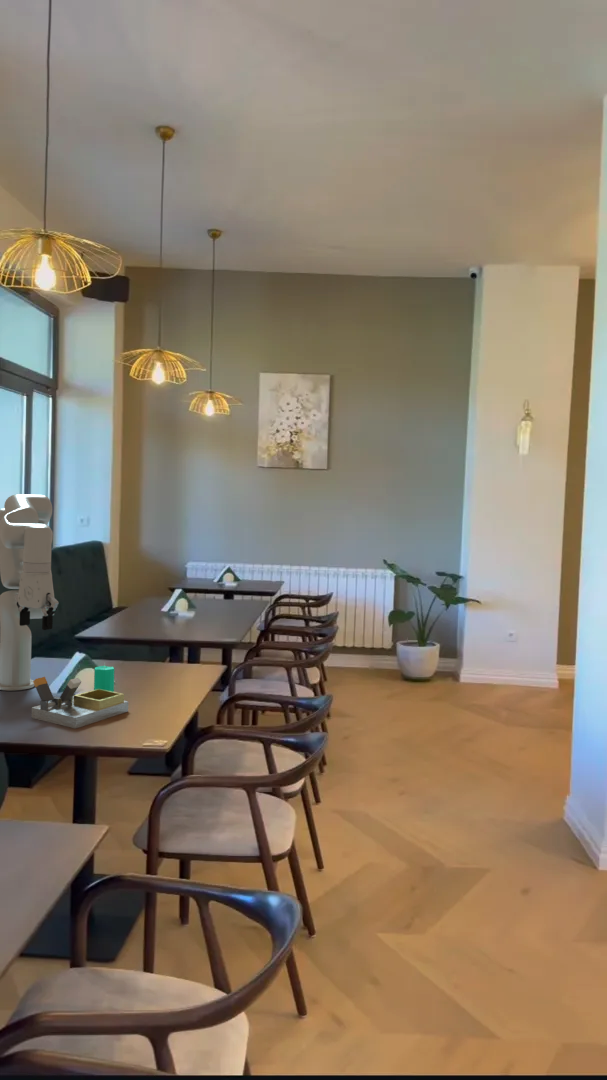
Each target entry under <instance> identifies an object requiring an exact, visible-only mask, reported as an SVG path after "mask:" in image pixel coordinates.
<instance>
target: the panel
mask: <svg viewBox="0 0 607 1080" xmlns="http://www.w3.org/2000/svg"><path fill="white" fill-rule="evenodd" d="M53 697H54V700H53V701H52V702H55V703H56V705H55V706H53V707H49V708H48V702H47V701H43V700H42V701H41V700H40V702H39V703H40V704H38V705H36V706H32V707H31V718H32V719H34V720H35V719H36V720H39V721H43V722H46V723H51V724H56V725H59V726H64V727H67V728H71V729H74V730H75V729H78V728H82V727H84V726H87V725H90V724H91V725H92V724H93V723H94V724H95V723H96V722H97V723H98V722H100V721H103V720H106V719H108V718H112V717H115V716H118V715H121V714H124V713H125V714H126V713H127V712H129V701H127V700H125V694H124V693H121V692H117V691H114V692H113V691H108V690H103V689H95V690H94V689H92V690H89V691H85V692H81V693H77V694H74V695H73V696H72V698H71V700H69V702H67V703H63V704H62V698H60V696H53ZM49 703H51V702H49Z"/></svg>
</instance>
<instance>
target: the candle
mask: <svg viewBox="0 0 607 1080" xmlns="http://www.w3.org/2000/svg"><path fill="white" fill-rule="evenodd" d="M93 671H94V673H93V675H94V676H93V677H94V678H93V690H95V689H103V690H108V691H113V692H115V668H114V666H108V665H107V666H106V662H104V665H99V666H96V667H94V670H93Z"/></svg>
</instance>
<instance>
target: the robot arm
mask: <svg viewBox="0 0 607 1080" xmlns="http://www.w3.org/2000/svg"><path fill="white" fill-rule="evenodd" d="M3 507H4V508H0V581H1V584H2V586H3V587H5V588H6V589H10V590H7V591H3V592H2V593H1V594H0V690H1V691H11V692H13V691H24V690H29V689H32V688H34V687H35V685H34V683H33V681H34V680H35V679H34V680H33V679H32V678H31V673H32V672H31V671H32V631H31V629H30V627H29V625H30V623H31V620H32V619H33V620H34V619H39V620H40V619H41V621H42V622H41V627H42V628H41V630H42V631H47V630H51V629H52V630H53V621H54V619H53V618H54V617H53V616H55V613H56V612H57V608H58V606H59V601H58V600H57V598H55V591H54V583H53V574H52V543H53V536H54V535H53V530H52V529H51V527H50V526H49V525H48V524H49V522H50V520H51V518H52V515H53V505H52V502H51V499H50V498H49V496H47V495H44V494H27V493H26V494H25V493H24V494H23V493H22V494H21V493H16V494H12V495H9V497H7V499H5V501H4V506H3ZM11 589H12V590H11Z"/></svg>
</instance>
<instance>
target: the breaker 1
mask: <svg viewBox="0 0 607 1080" xmlns="http://www.w3.org/2000/svg"><path fill="white" fill-rule="evenodd" d="M33 683H34V685H35V686H34V687H35V689H36V691H37V694H38V696H39V699H40V702H41V701H42V700H43V701H47V702H48V708H49V707H53V706H55V705H56V703H55V702H52V701H53V700H54V697H55V696H54V695H53V692H52V691H51V688H50V685H49V684H48V681H47V679H46V677H45V676H43V677H38V678H35V679H34V681H33ZM50 702H51V703H50Z"/></svg>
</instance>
